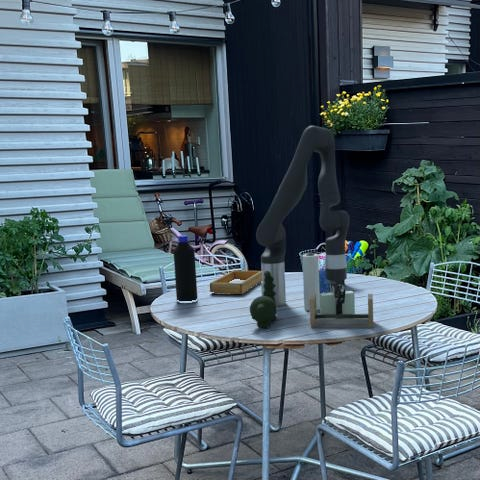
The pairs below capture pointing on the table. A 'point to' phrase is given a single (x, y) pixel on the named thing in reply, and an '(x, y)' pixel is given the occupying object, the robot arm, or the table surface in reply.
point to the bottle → (185, 270)
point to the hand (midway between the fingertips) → (337, 312)
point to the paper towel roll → (311, 279)
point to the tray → (236, 288)
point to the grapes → (323, 281)
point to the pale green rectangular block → (330, 306)
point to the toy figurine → (265, 304)
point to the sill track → (341, 317)
